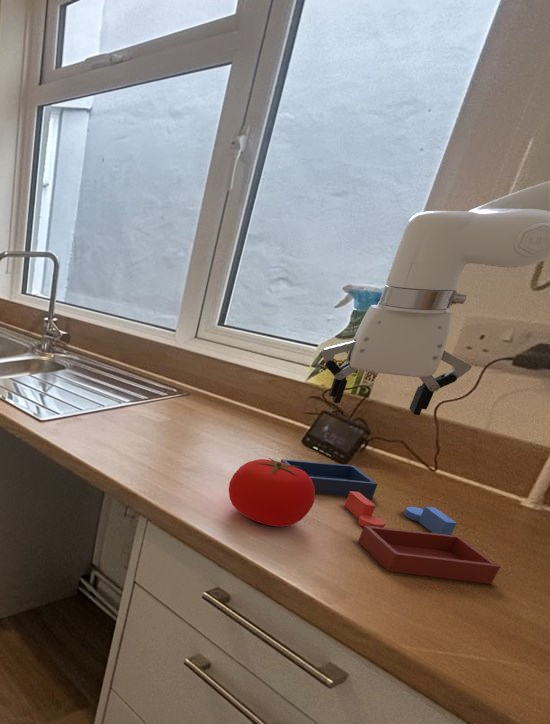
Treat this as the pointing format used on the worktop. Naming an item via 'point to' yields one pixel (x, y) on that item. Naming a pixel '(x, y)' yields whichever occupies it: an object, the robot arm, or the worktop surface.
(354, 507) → the red stepped block
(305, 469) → the blue tub
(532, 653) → the worktop surface
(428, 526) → the blue stepped block
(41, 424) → the worktop surface
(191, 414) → the worktop surface
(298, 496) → the tomato
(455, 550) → the red tub
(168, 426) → the worktop surface
